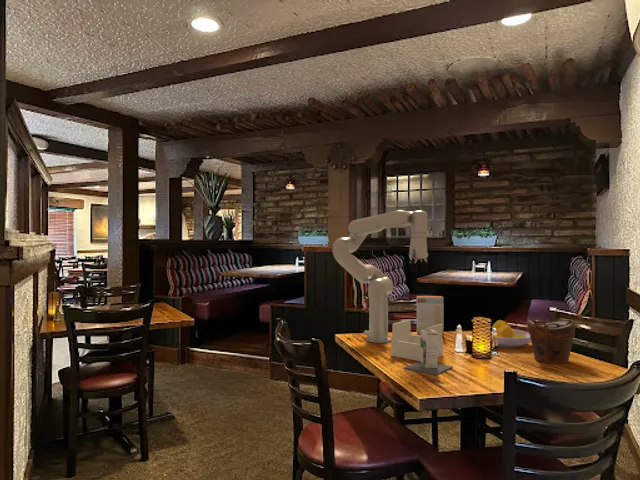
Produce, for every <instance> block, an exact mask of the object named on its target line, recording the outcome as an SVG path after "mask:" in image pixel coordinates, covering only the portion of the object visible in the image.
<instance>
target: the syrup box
mask: <svg viewBox="0 0 640 480" xmlns="http://www.w3.org/2000/svg"><path fill="white" fill-rule="evenodd" d="M420 336H421V337H420V365H421V366H422V367H423V368H437V364H438V358H439V357H438V332H436V331H434V330H431V329H422V330H421V335H420Z"/></svg>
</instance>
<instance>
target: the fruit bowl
mask: <svg viewBox="0 0 640 480" xmlns="http://www.w3.org/2000/svg"><path fill="white" fill-rule="evenodd" d="M473 320H474V319H471V320H470V321H471V323H473ZM493 327H495V328H496V329H497V341H498V346H497V347H499V348H519V347H522V346H525V345H527V344H530V343H531V338H530V334H529V333H528V331H526V330H520V329H518V328H517V329H516V328H511V325H510V324H509V323H508V322H507V321H505V320H501V319H499V320H496V322H494V323H493V325H492V326H491V328H493Z"/></svg>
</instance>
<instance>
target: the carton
mask: <svg viewBox="0 0 640 480" xmlns="http://www.w3.org/2000/svg"><path fill="white" fill-rule="evenodd" d="M411 323H412V321H411V319H407V320H403V321H399V322H394V323H392V325H391V326H392V332H391V333H392V334H391V335H392V336H391V337H392V338H391V341H390V342H391V343H390V344H391V345H390V346H391V349H390V350H391V352H390V355H391V356H392V357H396V358H401V359H402V358H403V359H407V360H413V361H416V362H419V361H420V337H421V335H418V334H411V333H412V331H411V329H412V328H411V327H412V326H411V325H412V324H411ZM425 329H431V330H434V331H436V332H438V358H439V357H441V356H442V357H443V355H444V339H443V335H442V324H439V325H435V326H432V327H428V328H425Z"/></svg>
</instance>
